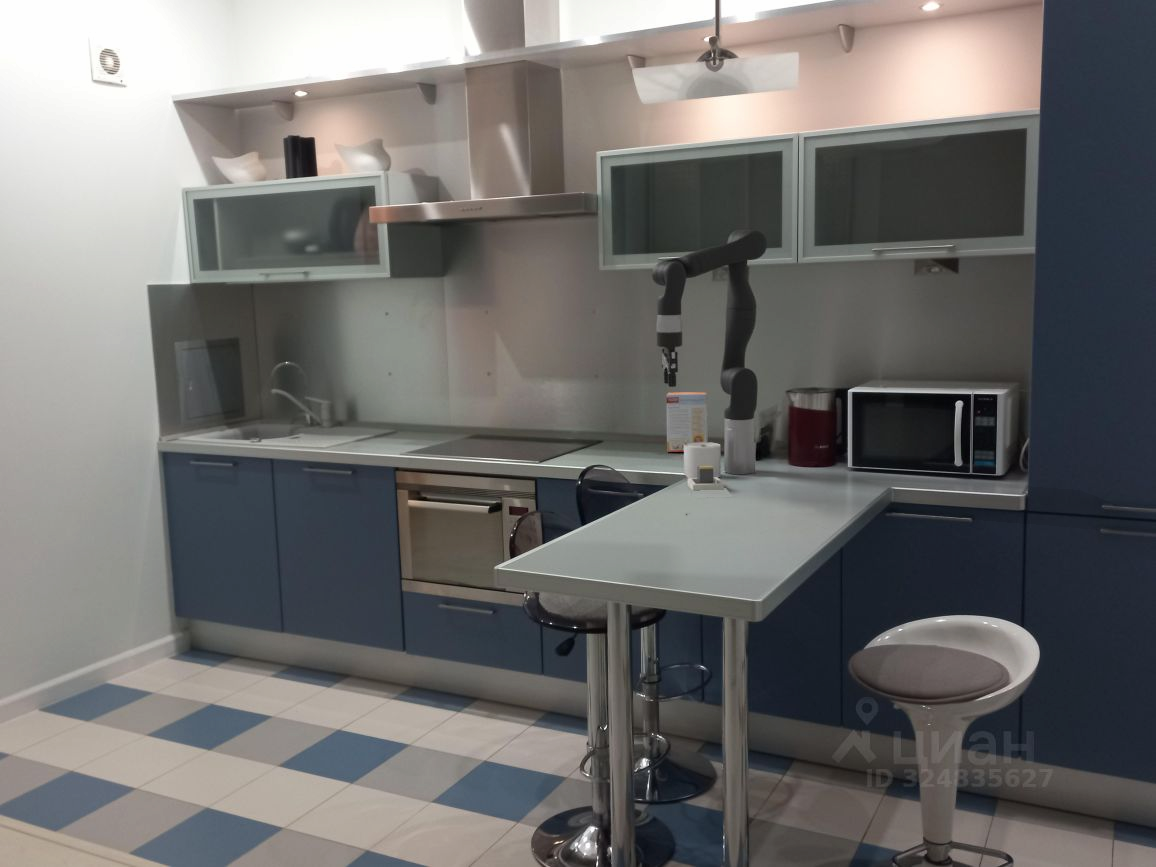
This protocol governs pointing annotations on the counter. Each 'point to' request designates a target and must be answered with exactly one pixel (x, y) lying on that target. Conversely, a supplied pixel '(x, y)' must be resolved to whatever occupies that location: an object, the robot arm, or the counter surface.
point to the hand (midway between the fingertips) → (669, 385)
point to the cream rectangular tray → (715, 485)
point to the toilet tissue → (701, 458)
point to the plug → (704, 474)
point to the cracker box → (686, 419)
